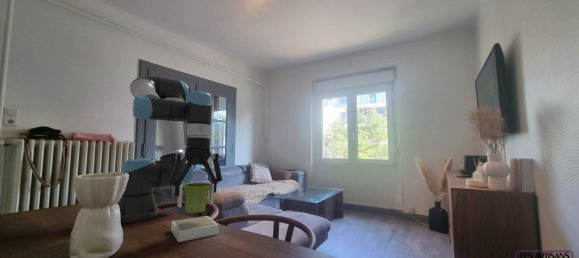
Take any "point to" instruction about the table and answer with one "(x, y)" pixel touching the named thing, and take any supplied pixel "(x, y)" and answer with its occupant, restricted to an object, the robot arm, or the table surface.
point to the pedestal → (194, 228)
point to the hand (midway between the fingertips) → (195, 204)
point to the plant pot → (195, 196)
